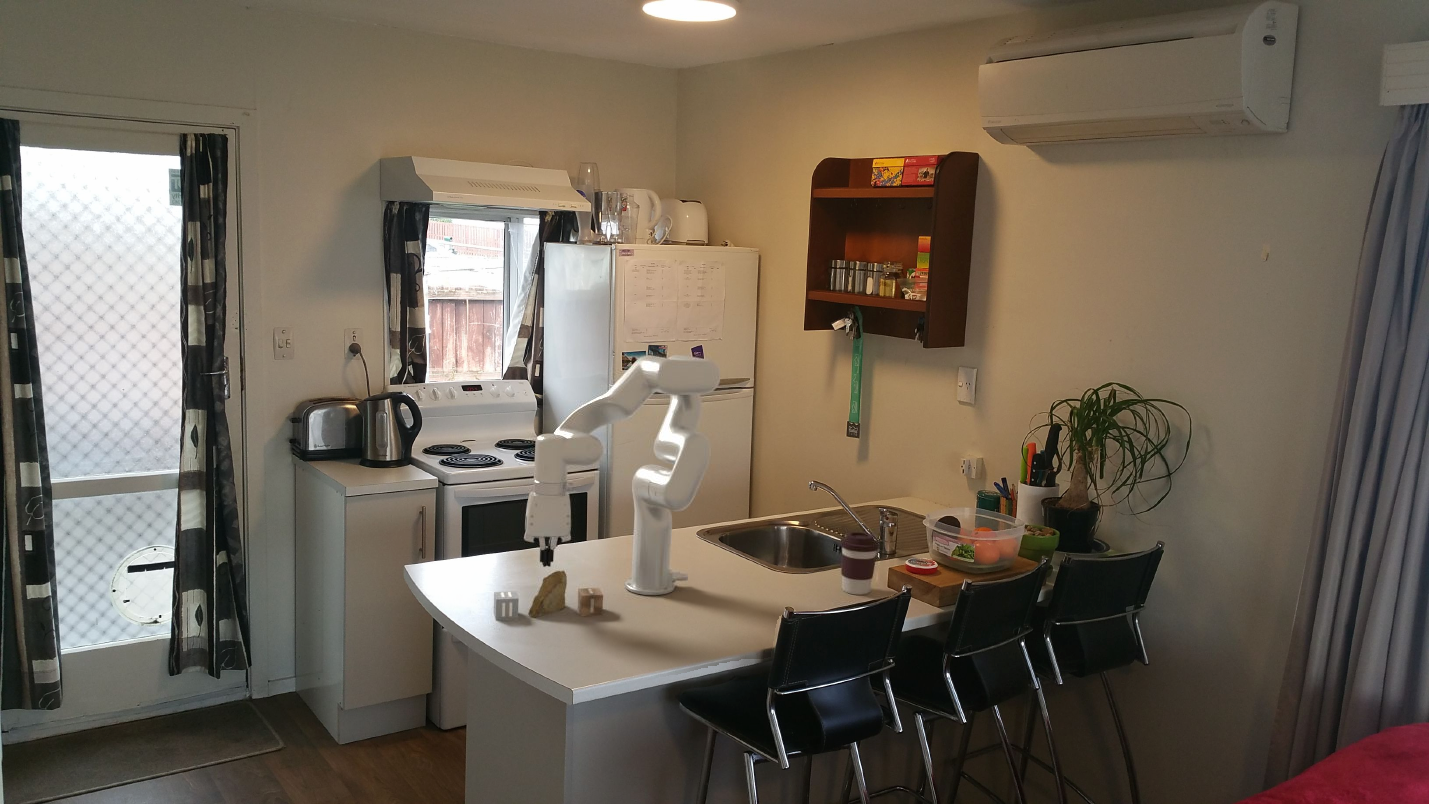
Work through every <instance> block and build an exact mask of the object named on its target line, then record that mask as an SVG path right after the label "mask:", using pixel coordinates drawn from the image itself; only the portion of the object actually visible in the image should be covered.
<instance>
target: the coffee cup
mask: <svg viewBox="0 0 1429 804" xmlns="http://www.w3.org/2000/svg"><path fill="white" fill-rule="evenodd" d="M839 542H840V543H839V544H840V547H842V548H841V551H842V552H841V553H840V554H841V557H840V558H841V563H840V564H841V566H840V569H841V571H840V574H841V589H842V590H843V592H845V593H848V594H850V595H856V596H857V595H858V596H861V595H863V596H864V595H867V594H869V593H870V592H871V586H872V580H873V577H874V572H875V565H876V558H877V555H876V553H877V551H878V550H879V548H880V542H879V541H878V540H876V539H875V537H874V536H873V535H872V534H871V533H868V532H865V531H864V532H863V531H851V532H850V531H849V532H848V533H847V534H846V535H845V536H843V537H841V538H840V541H839Z"/></svg>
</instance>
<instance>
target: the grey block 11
mask: <svg viewBox="0 0 1429 804" xmlns="http://www.w3.org/2000/svg"><path fill="white" fill-rule="evenodd" d="M519 602H520V601H519V595H518V593H517V591H515V590H513V591H495V592H494V593H493V615H494V619H495V621H507V620H509V621H510V620H519Z"/></svg>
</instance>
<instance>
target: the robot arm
mask: <svg viewBox="0 0 1429 804" xmlns="http://www.w3.org/2000/svg"><path fill="white" fill-rule="evenodd" d="M721 378H722V377H721V369H720V368H719V366H718V365H717V364H716V363H715V362H714V361H712V360H710V359H706V358H701V357H700V358H699V357H695V356H691V355H685V354H684V355H683V354H674V355H671V356H669V357H662V356H656V355H643V356H641V357H639V358H638V359H637V360H635V362H634V363H633V364H632V365H631V366H630V367H629V368H628V369H627V370H626V371H625V372H624V373H622V376H621V377H620V378H618V379H617V381H615V383H613V385H612V386H611V387H610V388H609V389H608V390H607V391H606V392H605V393H604V394H602V395H600V396H598V397H595V399H593V400H591V401H589V402H587V403H585V404H583V405H582V406H579V408H577V409H576V410H574V411H573V412H572V413H570V415H568V416H567V417H566V419H564V421H562V423H561V424H560V425H559V426H558V427H557V428H556V430H555V431H554V433H542V434H539V435H538V436H537V437H536V439H535V443H534V444H535V448H534V450H535V451H534V465H533V466H534V469H533V486H532V487H533V491H530V492H529V494H528V498H527V499H528V500H527V503H526V510H525V511H526V513H525V520H524V521H525V522H524V525H525V526H524V530H525V533H524V537H523V539H524V541H526V542H530V543H534V544H535V545H536V546H537V547H538V548H539V563H541V564H542V566H543V567H544V568H547V567H549V568H551V566H552V563H554V559H555V558H554V557H555V555H554V554H555V550H556V548H557V547H558V546H559V545H560V544H561V543H564V542H568V541H570V540H572V536H571V529H572V528H571V527H572V518H571V516H572V515H571V514H572V513H571V499H570V493H569V492H568V491H569V490H573V489H574V484H573V482H569V481H568V469H569V468H568V467H569V466H573V467H574V466H577V467H589V466H593V465H595V464H597V463H598V462H599V461H600V460H601V459H602V457H603V454H604V446H603V443H602V441H601V440H600V439H599V438H598V437H596V436H595V435H593V434H592V433H593V432H594V431H596V430H598V429H599V428H601V427H604V426H607V425H612V424H617V423H621V422H624V421H626V420H630V419H631V418H632V417H633V416H635V414H636V413H637V412H638V411H639V410H640V409H641V408H642V407H643V405H644V404H645V403H646V402H648V400H649V399H650V398H651V397H652V396H653V395H654V394H655V393H660V394H665V395H669V399H670V401H669V406H668V409H667V410H666V414H665V417H664V419H663V421H662V424H661V426H660V428H659V431H658V432H657V435H656V438H655V440H654V444H653V453H654V455H655V457H656V458H657V459H659V460H660V461H662V462H664V463H667V464H670V465H673V467H672V469H671V468H669V467H665V466H662V465H658V464H652V463H651V464H645V465H642V466H641V467H639V468H638V469H637V470H636V472H635V473H634V475H633V477H632V482H631V490H632V497H633V499H632V500H633V507H634V521H633V540H632V559H631V560H632V562H631V563H632V564H631V577H630V578H628V579H627V580H625V581H624V583H625V584H624V587H625V589H627V590H628V591H629V592H631V593H632V594H633V593H634V594H638V595H642V596H643V595H645V596H661V595H666V594H669V593H671V592H673V591H674V590H675V588H676V584H675V583H676V582H677V581H678V582H679V581H680V582H686V581H688V579H689V576H688V573H687V572H686V573H685V572H684V573H683V572H681V571H679V570H678V571H672V570H671V568H670V567H671V553H672V552H671V548H672V531H673V528H672V527H673V518H672V517H673V516H672V512H673V511H674V512H681V511H683V510H686V509H688V507H689V506H690V505H691V503H693V501H694V498H695V497H696V495H697V493H698V490H699V487H700V485H701V483H702V481H703V479H704V476H705V473H706V471H707V469H708V466H709V463H710V460H711V455H712V445H711V442H710V440H709V438H708V437H707V436H706V435H705V434H703V433H702V432H699V431H697V429H698V427H699V423H700V420H701V417H702V414H703V402H702V398H701V395H706V394H709V393H712V392H713V391H715V390H716V389H717V388H718V386H719V384H720V382H721ZM546 538H549V540H548V545H546V541H545V540H546Z"/></svg>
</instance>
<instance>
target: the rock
mask: <svg viewBox="0 0 1429 804" xmlns="http://www.w3.org/2000/svg"><path fill="white" fill-rule="evenodd" d="M567 583H568V581H567V574H566V572H565V570H556V571H554V572H552V573H551V574H548V575H547V576H546V577H544V578H543V579H542V583H541V586H540V588H539V590H538V591H537V592H538V593H537V594H536V595H534V596H535V597H534V598H533V601H532V603H531V606H530V608H529V610H528V613H527V615H529V616H530V617H532V618H538V617H540V616H541V617H542V616H545V615H547V614H551V613H554V612H557V611H559V610H563V609H564V608H565V607H566V596H565V595H566V589H567Z"/></svg>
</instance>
